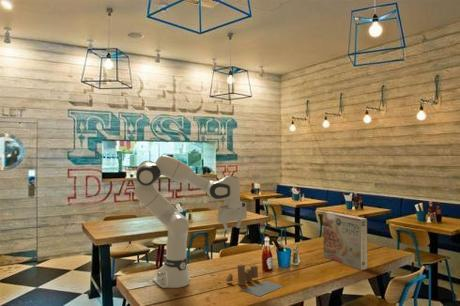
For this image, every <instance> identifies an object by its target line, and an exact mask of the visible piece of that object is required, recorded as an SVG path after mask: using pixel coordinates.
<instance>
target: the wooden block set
mask: <svg viewBox="0 0 460 306" xmlns="http://www.w3.org/2000/svg"><path fill="white" fill-rule="evenodd" d="M236 266H237V282H238V283H237V284H238V285H239V286H245V285H246V284H247V283H249V282H253V279H257V278H258V277H259V271H258V269H259V268H258V266H257V265H251V266H250V268H247V269H246V267H245V266H246V265H245V264H241V263H240V264H237V265H236ZM225 281H226V282H227V283H228V282H229V283H230V282H232V281H233V274H232V273H229V274H228V276H227V278H226V279H225ZM246 282H247V283H246Z"/></svg>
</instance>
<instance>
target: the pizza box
mask: <svg viewBox="0 0 460 306" xmlns="http://www.w3.org/2000/svg"><path fill="white" fill-rule="evenodd" d="M323 258H325V259H328V260H330V261H334V262H337V263H339V264H342V265H345V266H348V267H350V268H353V269H357V270H360V271H364V270H367V269H368V218H365V217H360V216H356V215H350V214H345V213H344V214H343V213H339V212H334V211H323Z"/></svg>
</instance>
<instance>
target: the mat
mask: <svg viewBox="0 0 460 306" xmlns="http://www.w3.org/2000/svg"><path fill="white" fill-rule="evenodd" d="M283 287H284V285H282V284H278V283H275V282H272V281H268V280H264V281H262V282H260V283H257V284H255V285H251V286H249V287H247V288H243V289H241V291H242V292H245V293H248V294H250V295H253V296H256V297H262V296H265V295H268V294H269V293H272V292H274V291H276V290H279V289H281V288H283Z"/></svg>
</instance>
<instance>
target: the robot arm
mask: <svg viewBox="0 0 460 306" xmlns="http://www.w3.org/2000/svg"><path fill="white" fill-rule="evenodd" d="M161 176H163V177H167V178H168V179H170V180H173V181H175V182H178V183H182V184H190V185H193V186H195V187H197V188H199V189H201V190H202V191H203V192H204V193H205V194H206V195H207V196H208V197H210V198H212V199H215V200H221V199H222V200H223V199H224V205H221V206H220V207H219V208H218V211H217V219H216V221H217V222H218V223H219V224H222V225H223V230H224V231H229V227H228V223H231V222H235V221H237V224H236V226H235V227H236V229H240V228H241V224H242V222H243V221H242V220H246V219H247V216H248V215H247V214H248V212H247V211H248V210H247V203H246V202H245V201H241V197H240V194H241V184H240V179H239V177H238V176H233V175H225V177H223V178H221V179H219V180H213V179H212V180H210V179H207V178H205V177H203V176H201V175H198V174H197V173H196V172H194V171H193V169H192V167H190V166H189V165H188V164H186V163H185V162H183V161H181V160H180V159H177V158H175V157H174V156H173V157H172V156H170V155H166V154H163V155H160V156H159V157H158V158H157V159H156V161H155V162H154V161H151V160H145V161H142V162H141V163H140V164H139V166H138V167H137V169H136V172H135V177H136V180H137V182H138V183H137V184H136V186H135V187H134V190H133V194H134V195H135V197H136V198H137V200H138V201H139V202H140V203H141V204H142V206H144V207H145V208H146V209H147V210H148V211H149V212H150V213H151V214H152V216H154V217H155V218H156V219H157V220H159V222H160V223H161V224H162V225H163V226H165V227H166V229H167V241H166V248H165V249H166V257H164V258H163V260H164V264H163V265H162V266H161V267H159V268H158V269H157V273H156V276H155V277H153V278H152V281H153V282H154V283H155V284H157V285H158V286H159V287H161V288H163V289H164V288H165V289H167V288H168V289H169V288H171V289H176V288H183V287H186V286H188V285H189V284H190V281H191V277H190V272H189V266H188V257H187V241H188V236H189V228H190V223H189V220H188V218H187V217H186V216H185V215H183V214H182V213H181V212H179V210H178V209H177V208H176V207H175V206H174V205H173V204H172V203H171V202H170V201H169V200H168V199H167V198H166V197H165V196H164V195H163V194H162V193H161V192H160V191H159V190H158V189H157V188H156V187H155V185H154V183H155V182H156V181H157V180H158V179H159V178H160V177H161Z"/></svg>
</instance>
